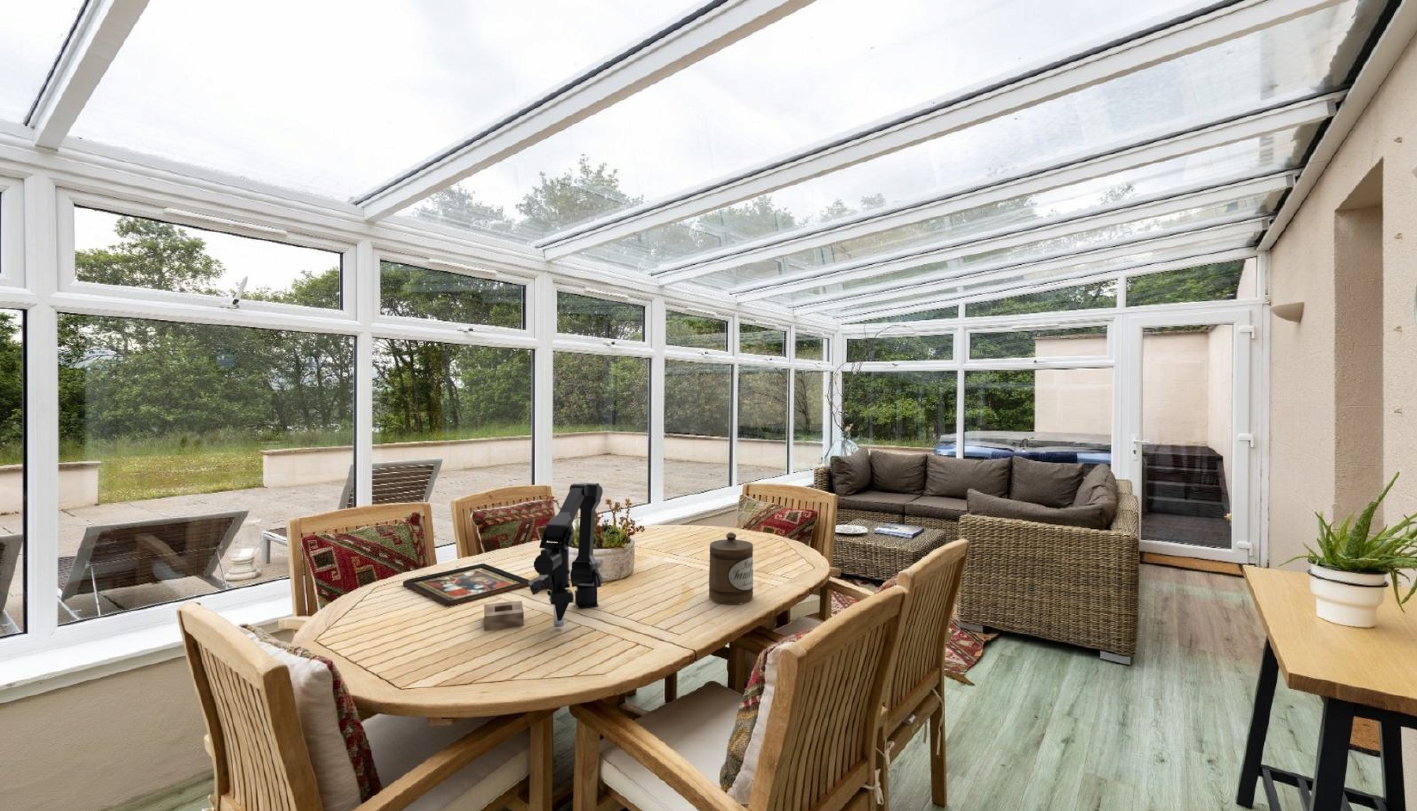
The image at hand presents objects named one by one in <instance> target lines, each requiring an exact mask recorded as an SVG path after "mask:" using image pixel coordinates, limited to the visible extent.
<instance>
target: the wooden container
mask: <svg viewBox="0 0 1417 811" xmlns="http://www.w3.org/2000/svg"><path fill="white" fill-rule="evenodd" d="M725 538H726V539H719V540H714V541H712V542H710V543H709V573H708V575H709V576H708V597H709V600H711V601H712V602H714V603H717V604H722V605H731V604H733V605H741V604H740V603H743V604H745V602H746V603H749V602H751V601H752V600H753V599H754V596H753V595H754V546H753V543H752V542H750V541H748V540H742V539H736V538H737V535H736V533H735V532H728V533H727V534H725ZM751 599H752V600H751ZM750 600H751V601H750ZM748 601H749V602H748Z"/></svg>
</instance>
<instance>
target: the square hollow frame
mask: <svg viewBox="0 0 1417 811" xmlns="http://www.w3.org/2000/svg"><path fill="white" fill-rule="evenodd" d="M522 601H523V600H516V601H514V600H513V601H505V602H496V603H486V604H484V606H483V611H484V612H483V613H484V614H483V615H484V616H483V629H484V630H483V631H488V630H497V629H498V630H499V629H505V628H514V627H516V628H517V627H523V626H525V624H524V623H525V622H524V621H525V620H524V618H525V617H524V615H525V614H524V613H525V612H524V607H523V606H524V605H523V602H522Z"/></svg>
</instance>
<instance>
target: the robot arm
mask: <svg viewBox="0 0 1417 811" xmlns="http://www.w3.org/2000/svg"><path fill="white" fill-rule="evenodd" d="M602 496H603V487H602V486H601V485H600V483H598V482H579V483H575V482H574V483H572V484H570V485H569V492H568V493H567V495H566V498H565V499H564V501H563V503H562V506H561V507H560V510H559V512H558V513H557V514H556V515H554V516H553V517H551V518H550V520H549V521H548V522H547V524H546V525H545V527H544V528H543V532H542V538H541V541H540V544H539V547H538V548H539V549H541V550H540V554H539V555H537V556H536V557H535V559H534V561H533V567H534V570H535V572H536V573H537V574H538V576H537V577H534V578H532V579H529V580H530V581H528V584H529V587H528V588H530V591H531V592H530V593H531V594H532V596H534V595H537V594H538V593H540V592H543V591H544V590H547V591H546V594H547V596H548V597H549V599H548V600H549V602H550V605H553V606H554V605H555V610H556V615H557V620H558V621H561V620H562V618H563V616H564V617H565V613H566V611H567V609H568V607H569V604H572V603H574V604H575V605H576V607H577V609H583V608H593V607H598V606H599V603H598V588H601V587H602V582H603V577H602V575H601V572H600V571H599V568H598V562H597V559H596V558H595V555H594V537H595V536H594V535H595V518H596V516H595V515H596V509H597V508H598V506H599V505H600V503H601V502H602V501H601V500H602ZM579 510H580V512H579V531H578V548H577V550H578V551H577V556H576V558H575V559H574V560H573V561H572V563H571V570H570V567H569V566H570V558H569V557H570V556H569V554H570V553H569V552H570V547H571V542H572V540H573V536H574V533H575V532H574V530H575V529H574V526H573V524H574V523H573V522H574V520H575V519H576V517H577V516H576V515H578V511H579ZM539 574H541V576H539ZM569 580H570V581H569ZM570 582H571V584H570ZM571 586H572V588H574V587H575V588H576V589H575V590H574V593H573V591H572V590H571V589H569V588H571ZM547 588H548V589H547Z"/></svg>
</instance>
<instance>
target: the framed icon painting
mask: <svg viewBox="0 0 1417 811" xmlns="http://www.w3.org/2000/svg"><path fill="white" fill-rule="evenodd" d="M530 580H531V579H528V578H525V577H522V576H519V575H517V574H514V573H510V572H508V571H505V570H503V569H500V568H497V567H495V566H492V565H489V564H486V563H478V564H473V565H470V566H465V567H460V568H454V569H451V570H446V571H441V572H436V573H431V574H427V575H426V574H425V575H422V576H417V577H412V578H408V579H405V580H403V581H402V585H403V587H404V588H406V589H409V590H411V589H412V590H411V591H413V592H415V593H418V594H419V595H422V596H425V597H426V598H428V597H429V599H430V598H431V599H430V600H432V601H435V602H437V603H439V604H440V605H443V604H444V605H443V606H445V605H446V606H445V607H447V606H448V607H447V608H452V607H455V605H456V606H459V605H458V604H460V605H462V604H463V605H464V604H468V603H470V602H471V603H472V602H474V601H478V600H482V599H486V598H490V597H494V596H497V595H501V594H502V595H503V594H505V593H509V592H513V591H516V590H521V589H525V588H530V587H529V584H528V581H530ZM451 606H452V607H451Z"/></svg>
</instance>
